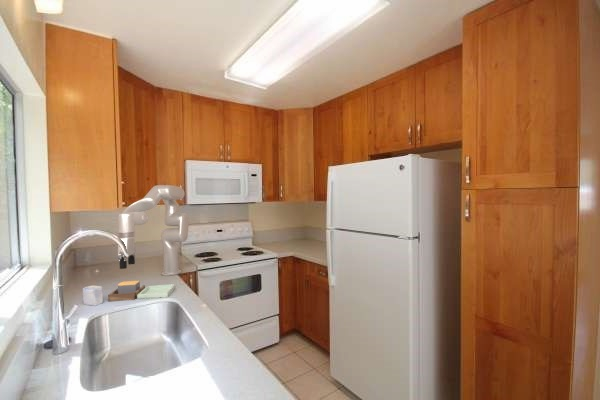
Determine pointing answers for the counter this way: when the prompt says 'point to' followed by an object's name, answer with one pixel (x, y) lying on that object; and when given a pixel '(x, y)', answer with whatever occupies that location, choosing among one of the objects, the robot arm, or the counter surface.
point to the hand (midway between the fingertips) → (127, 266)
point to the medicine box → (92, 295)
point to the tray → (156, 291)
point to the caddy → (128, 287)
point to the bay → (124, 295)
